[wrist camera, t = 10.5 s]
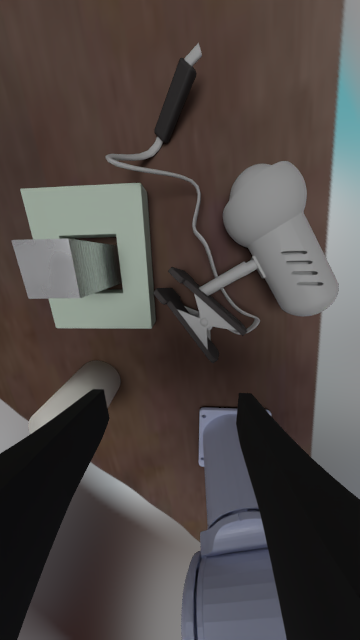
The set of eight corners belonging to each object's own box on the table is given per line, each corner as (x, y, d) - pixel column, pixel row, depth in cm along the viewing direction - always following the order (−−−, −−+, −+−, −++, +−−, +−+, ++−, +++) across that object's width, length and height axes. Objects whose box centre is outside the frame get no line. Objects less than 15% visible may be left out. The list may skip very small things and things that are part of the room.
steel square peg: (123, 282, 17) (80, 298, 11) (90, 282, 17) (28, 298, 11) (118, 246, 16) (68, 238, 10) (84, 246, 16) (11, 240, 10)
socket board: (155, 321, 18) (151, 328, 16) (69, 320, 19) (56, 328, 17) (147, 192, 15) (140, 182, 13) (41, 197, 15) (20, 188, 13)
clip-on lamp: (116, 191, 18) (206, 353, 18) (57, 141, 12) (194, 387, 12) (229, 86, 14) (337, 295, 14) (229, -68, 8) (414, 303, 8)
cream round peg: (122, 396, 22) (92, 456, 15) (83, 394, 22) (37, 453, 15) (118, 361, 20) (82, 411, 14) (76, 359, 20) (20, 408, 14)
